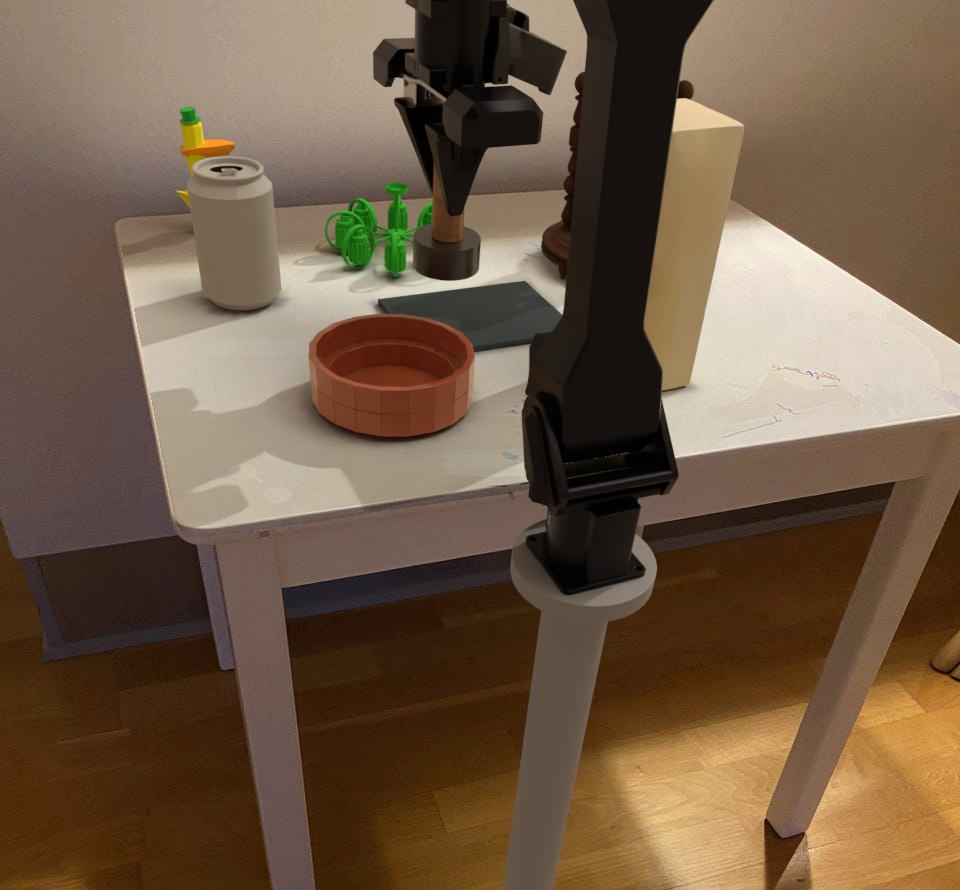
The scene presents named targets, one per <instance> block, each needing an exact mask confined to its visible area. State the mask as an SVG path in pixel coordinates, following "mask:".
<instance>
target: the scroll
mask: <svg viewBox="0 0 960 890" xmlns="http://www.w3.org/2000/svg"><path fill="white" fill-rule="evenodd" d="M584 74H585V70H584V71H582V72H579V74H578V75H577V76H576V77H575V80H574V88H575V91H576V92H577V93H578V94H576V95H575V96H574V99H575V100H576V101H577V104H576V107H575V110H574V112H573V114H572V115H573V116H572V120H573V122H574V125H572V126H571V127H570V129H569V138H568V145H569V151H570V152H571V154H570V155H571V156H570V158H569V160H568V163H567V172H568V173H569V175H567V176H566V177H565V179H564V181H563V185H562V186H563V190H564V192H565V193H566V195H564V196H563V200H564V201H566V203H565V204H564V207H563V210H562V212H561V214H560V219H561V220H559V221H558V222H555V223H553V224H551V225H549V226H548V227H547V228H545V230H544V231H543V233H542V236H541V244H540V249H541V252H542V254H543V255H544V257H545V258H546V259H547V260H548V261H549V262H551V263H552V264H554V265H555V266H557V267H558V275H559V278H560V280H566V277H567V265H568V254H569V243H570V232H571V220H572V209H573V198H574V186H575V175H576V164H577V153H578V141H579V130H580V119H581V107H582V96H583V85H584ZM694 94H695V89H694V84H693V83H692V82H691V81H689V80H687V79H683V80H680V81H679V88H678V95H677V99H680V98H686V99H690V100H692V98H693V97H694Z"/></svg>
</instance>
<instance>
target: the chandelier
mask: <svg viewBox="0 0 960 890" xmlns="http://www.w3.org/2000/svg"><path fill="white" fill-rule="evenodd" d="M385 193H386V194H388V195H392V196H394V198H393V200H392V201H393V202H390V203H389V205H388V207H389V208H388V210H387V228H385V227H383V226H381V225H378V219H377V215H376V213H375V209H374V208H373V206H372V205H371V203H369V201H367V200H366V199H364V198H361V197H358V198H355V199H353V200H351V202H350V203H349V205H348V207H347V210H339V211H336V212H334V213H333V214H331V215H330V216H329V217H328V219H327V220H326V224H325V227H324V236H325V239H326V241H327V243H328V244H329V246H330V247H331V248H332V249H333V250H334V251H336V252H339V253H341V257H342V260H343V262H344V263H345V265H346V266H348V267H350V268H352V269H354V270H359V269H362V268H364V267H366V266H367V265H368V264H369V263H370V261H371V260H372V258H373V256H374V254H375V251H376V244H377V243H378V242H382V241H385V240H386V242H385V247H384V267H385V270H386V271H388V272H391V273H392V277H393V278H398V276H399V273H402V272H404V271H405V270H406V268H407V249H406V246H405V241H407V242H410V243H411V244H413V239H412V238H413V235H414V233H409V232H415V231H416V230H417V229H418V228H420V227H422V226H425V225H429V224H432V203H433V201H430V202H429V203H427V204H426V205H425V206H424V207H423V208H422V210H421V211H420V213H419V214H418V218H417V222H416V226H415V227H411V228H409V211H408V209H407V204H406V203H404V202H403V199H402V198H401V196H404V195H406V194H408V185H406V184H405V183H401V182H390V183H387V184H385ZM355 203H357V205H356V206H354V205H355ZM337 216H339V217H338V218H337V219H336V220H335V226H334V235H335V244H334V243H333V242H332V240H331V239H330V237H329V234H328V227H329V224H330V222H331V221H332V220H333V219H334V218H336V217H337ZM408 228H409V229H408ZM378 229H379V230H382V231H384V232H378ZM375 236H383V237H381V238H377V239H376V237H375ZM409 237H412V238H409ZM347 256H348V257H347ZM352 264H353V265H352Z"/></svg>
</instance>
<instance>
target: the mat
mask: <svg viewBox="0 0 960 890" xmlns="http://www.w3.org/2000/svg"><path fill="white" fill-rule="evenodd" d="M377 305H378V306H379V307H380V308H381V310H382V311H383V312H384V314H405V315H411V316H418V317H424V318H428V319H431V320H435V321H438V322H441V323H444V324H447V325H448V326H450V327H452V328H454V329H456V330H457V331H459V332H461V333H462V334H464V336H465V337H466V338H467V339H468V340H469V341H470V342H471V343H472V345H473V349H474V352H478V351H484V350H485V351H486V350H492V349H497V348H498V349H499V348H505V347H511V346H518V345H525V344H529V343H530V344H531V342H532V340H533V338H534V336H535V334H537V333H544V332H552V331H553V329H554V328H555V326H556V325H557V323H558V322H559V321H560V319H561V318H562V315H563V313H561V312H560V311H559V310H558V309H557V308H555V306H553V304H551V303H550V302H549V301H548V300H547V299H546V298H544V296H542V295H541V294H540V293H539V292H538V291H537V290H536V289H535V288H534V287H533V286H532V285H530V284H529V283H528V282H527V281H526V280H520V281H512V282H503V283H495V284H487V285H480V286H472V287H471V286H470V287H464V288H456V289H448V290H439V291H431V292H424V293H423V292H422V293H416V294H408V295H400V296H393V297H392V296H391V297H384V298H377Z"/></svg>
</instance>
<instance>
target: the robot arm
mask: <svg viewBox="0 0 960 890" xmlns="http://www.w3.org/2000/svg"><path fill="white" fill-rule="evenodd" d="M404 1H405V2H404V3H405V4H406V5H407V6H409V7H411V8H413V9H414V37H397V38H383V39H382V40H381V41H380V43H379V44H378V45H377V46H376V48H375V49H374V50H373V52H372V70H373V71H372V73H373V75H372V76H373V77H372V78H373V80H374V81H376V82H377V83H378V84H380V85H381V86H382V87H383V88H392V87H393V84H394V81H395V80H396V79H397V78H398V79H403V96H399V97H398V96H397V97H395V98H393V104H394V106H395V108H396V109H397V110H398V112H399V115H400V118H401V120H402V123H403V125H404V128H405V130H406V133H407V135H408V137H409V141H410V143H411V145H412V147H413V150H414V152H415V155H416V158H417V160H418V163H419V166H420V168H421V170H422V174H423V176H424V178H425V181H426V184H427V187H428V190H429V191H430V194H431V197H432V198H433V170H434V164H435V168H436V172H437V176H438V180H439V184H440V188H441V191H442V195H443V199H444V202H445V206H446V209H447V212H448V214H449V215H450V216H458V215H461V214H462V212H463V210H464V211H465V208H464V207H466V204H467V202H468V198H469V196H470V193H471V190H472V187H473V185H474V182H475V179H476V176H477V173H478V170H479V168H480V166H481V163H482V161H483V159H484V156H485V154H486V152H487V151H488V149H493V148H505V147H518V146H519V147H521V146H530V145H531V146H532V145H538V144H539V143H541V141H542V133H543V132H542V131H543V121H544V111H543V110H542V108H541V107H540V106H539V104H538V103H537V102H536V101H535V99H534V98H533V97H531V96H530V95H528V94H526V93H525V92H523V91H522V90H520V89H519V88H518V87H515V86H514V85H512V84H509V76H511V77H512V78H514V79H516V80H518V81H519V80H520V81H521V82H523V83H526V84H528V85H531V86H533V87H536V88H537V90H538V91H539V92H540V93H542V94H544V95H547V96H552V92H553V90H554V88H555V85H556V82H557V80H558V76H559V74H560V71H561V68H562V67H563V64H564V61H565V58H566V56H567V53H568V51H567V50H566V49H565V48H563V47H561V46H559V45H557V44H555V43H553V42H552V41H549V40H547V39H545V38H544V37H542V36H540V35H537V34H536V33H533V32H531V31H530V16H529V14H526V13H524V12H523V11H520V10H518V9H517V8H515V7H513V6H511V5H510V4H509V3H508V0H404ZM714 1H715V0H572V2H573V3H574V6H575V8H576V11H577V13H578V17H579V18H580V21H581V23H582V25H583V28H584V31H585V33H586V51H585V52H586V53H585V62H584V63H585V64H584V71H585V74H584V85H583V96H582V107H581V119H580V130H579V141H578V153H577V164H576V175H575V186H574V198H573V209H572V220H571V232H570V243H569V254H568V265H567V277H566V278H565V287H564V288H565V290H564V299H563V300H564V301H563V310H562V318H561V319H560V321H559V322H558V323H557V325H556V326H555V328H554V329H553V331H552V332H544V333H537V334H535V336H534V338H533V340H532V342H531V343H530V344H529V347H528V362H529V363H528V377H527V383H526V386H525V390H524V393H525V396H526V397H525V399H524V402H523V406H522V409H521V428H522V447H523V448H522V450H523V468H524V471H525V478H526V481H527V482H528V484H529V487H528V495H527V497H528V498H529V500H530V501H531V502H532V503H535V504H536V503H537V504H539V505H542V506H543V507H544V506H546V507H547V510H546V518H545V519H546V532H541V533H537V534H533V535H529V536H527V537H526V545H527V547H528V548H529V549H530V551H531V552H532V553H533V555H534V556H535V557H536V559H537V560H538V561H539V563H540V564H541V565H542V567H543V568H544V569H545V571H546V572H547V573H548V575H549V576H550V577H551V579H552V580H553V581H554V583H555V584H556V585H557V587H558V588H559V589H560V591H561V592H562V593H563V594H565V595H574V594H578V593H582V592H586V591H590V590H594V589H598V588H602V587H606V586H610V585H613V584H617V583H621V582H625V581H629V580H633V579H637V578H641V577H643V576H644V575H645V572H646V568H645V567H644V565H643V564H642V563H641V562H640V561H639V560H638V558H637V557H636V556H635V555H634V554H633V553H632V548H633V543H634V538H635V534H636V535H637V529H638V524H639V519H640V515H641V511H642V510H641V509H642V505H641V504H640V503H639V499H642V498H643V499H644V498H649V497H653V496H666V495H669V494H670V492H671V491H672V489H673V488H674V486H675V484H676V482H677V481H678V479H679V476H680V475H679V468H678V465H677V464H678V463H677V461H676V455H675V451H674V446H673V442H672V439H671V438H672V437H671V434H670V433H671V432H670V429H669V425H668V421H667V420H668V419H667V415H666V412H665V408H664V407H665V406H664V402H663V399H662V397H663V395H662V394H663V391H662V383H663V369H662V367H661V365H660V362H659V360H658V358H657V356H656V354H655V351H654V349H653V347H652V345H651V343H650V341H649V338H648V336H647V334H646V332H645V328H644V327H645V315H646V309H647V302H648V295H649V288H650V281H651V274H652V267H653V260H654V254H655V247H656V240H657V233H658V226H659V219H660V212H661V205H662V198H663V192H664V185H665V178H666V171H667V164H668V157H669V150H670V143H671V137H672V130H673V123H674V116H675V109H676V102H677V95H678V88H679V82H680V81H681V73H682V66H683V60H684V54H685V49H686V45H687V43H688V41H689V39H690V38H691V36H692V35H693V33H694V32H695V30H696V29H697V27H698V26H699V24H700V22H701V21H702V20H703V18H704V16H705V15H706V13H707V12H708V10H709V8H710V7H711V6H712V4H713V3H714ZM486 84H492V86H486Z"/></svg>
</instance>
